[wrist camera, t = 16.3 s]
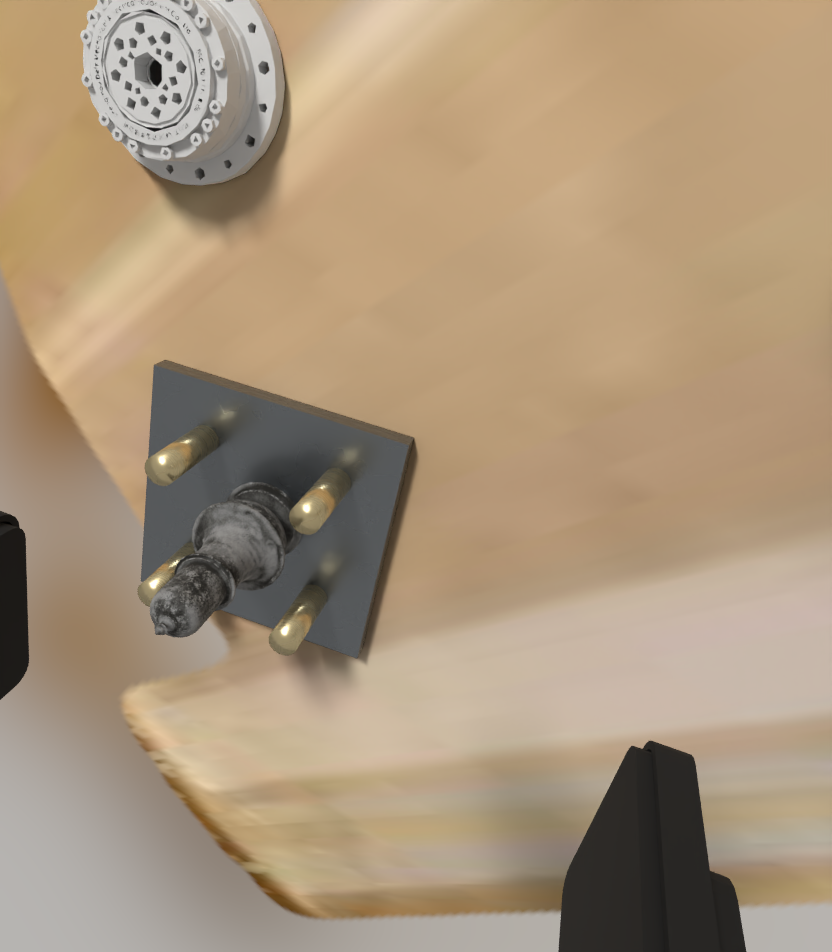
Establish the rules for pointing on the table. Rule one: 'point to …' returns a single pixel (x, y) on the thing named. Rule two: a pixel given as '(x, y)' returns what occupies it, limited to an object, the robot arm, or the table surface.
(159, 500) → the standoff chassis
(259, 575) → the grey chess piece
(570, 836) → the table surface
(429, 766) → the table surface
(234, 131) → the mechanical component
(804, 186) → the table surface
